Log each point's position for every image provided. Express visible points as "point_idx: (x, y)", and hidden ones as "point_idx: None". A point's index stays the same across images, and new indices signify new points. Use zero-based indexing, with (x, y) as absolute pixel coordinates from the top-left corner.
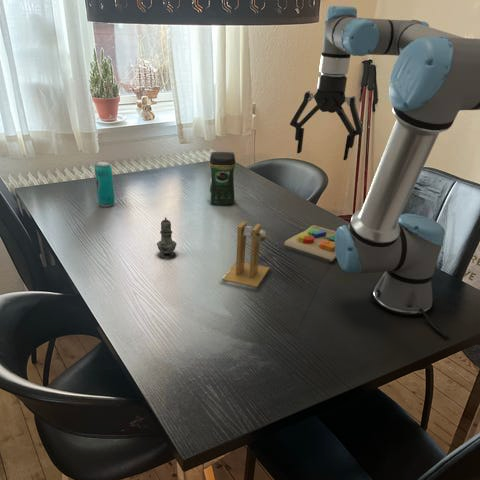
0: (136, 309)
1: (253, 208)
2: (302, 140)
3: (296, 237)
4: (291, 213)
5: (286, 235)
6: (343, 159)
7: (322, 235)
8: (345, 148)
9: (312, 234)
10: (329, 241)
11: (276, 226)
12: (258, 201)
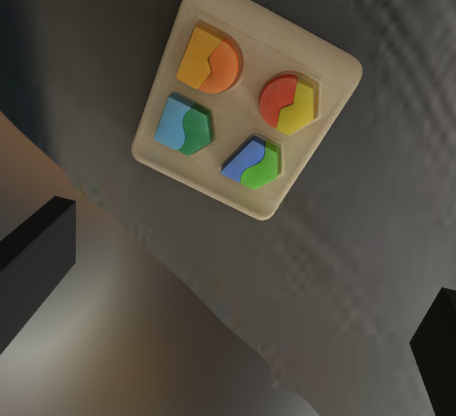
0: None
1: None
2: (445, 414)
3: (317, 124)
4: (321, 309)
5: (344, 164)
6: (72, 201)
7: (232, 157)
8: (17, 250)
9: (264, 145)
10: (208, 87)
11: (373, 221)
12: (414, 367)
